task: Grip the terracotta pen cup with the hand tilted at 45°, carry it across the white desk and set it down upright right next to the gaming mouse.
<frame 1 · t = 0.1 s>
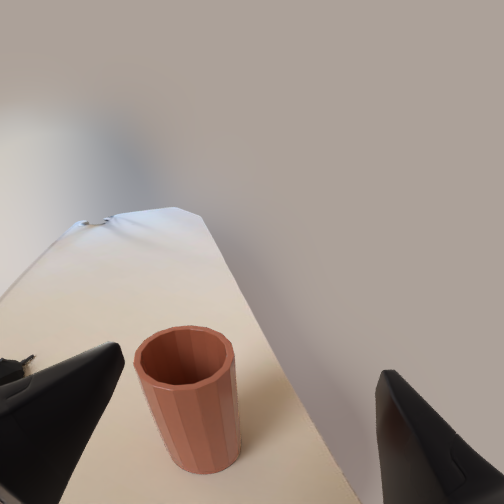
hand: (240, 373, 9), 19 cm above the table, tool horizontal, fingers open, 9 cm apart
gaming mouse: (3, 385, 26), on the table
pen cup: (204, 444, 24), on the table
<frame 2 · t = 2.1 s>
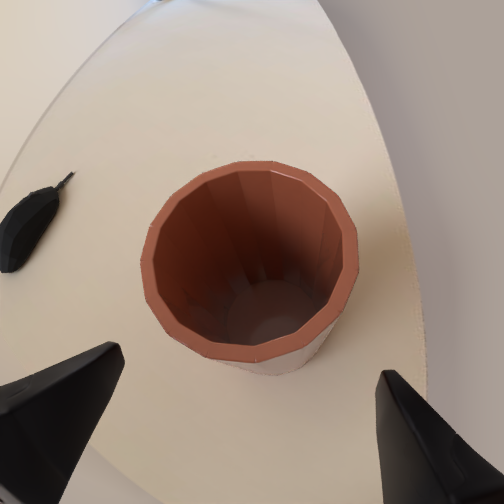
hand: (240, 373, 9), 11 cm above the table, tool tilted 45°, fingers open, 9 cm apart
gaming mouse: (37, 223, 28), on the table
pen cup: (272, 324, 20), on the table
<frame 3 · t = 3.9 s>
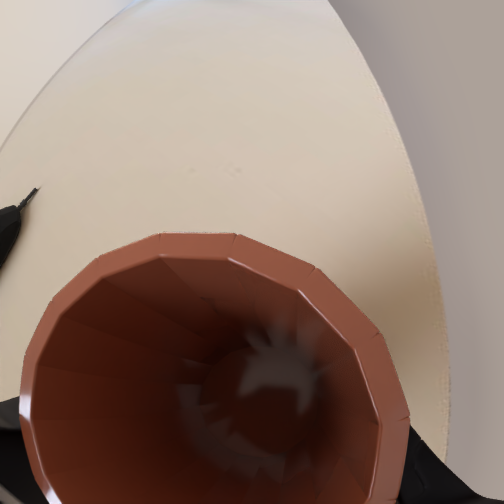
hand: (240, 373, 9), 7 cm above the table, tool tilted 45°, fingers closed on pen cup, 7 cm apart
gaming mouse: (0, 247, 23), on the table
pen cup: (259, 402, 14), on the table, touching gripper
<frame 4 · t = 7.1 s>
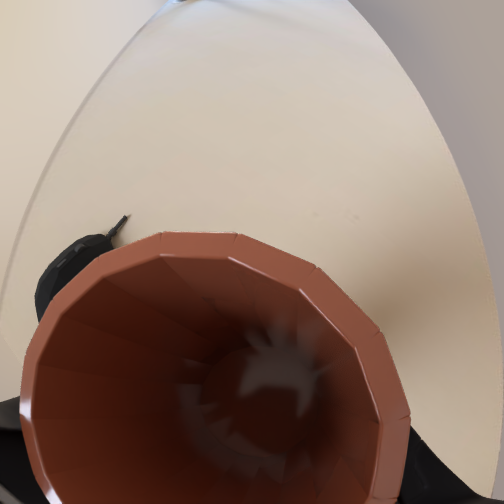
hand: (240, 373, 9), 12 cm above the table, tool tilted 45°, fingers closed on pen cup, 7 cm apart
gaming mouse: (86, 278, 26), on the table
pen cup: (259, 401, 14), point 6 cm above the table, touching gripper
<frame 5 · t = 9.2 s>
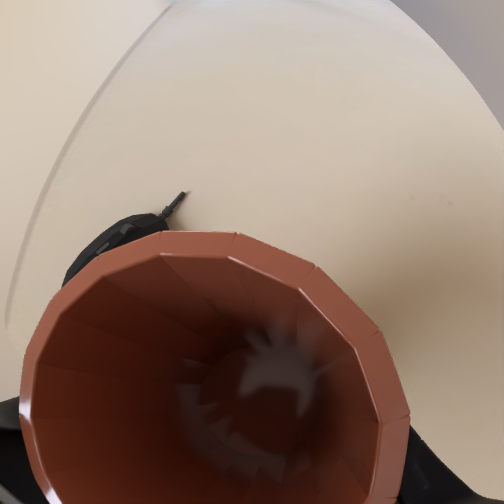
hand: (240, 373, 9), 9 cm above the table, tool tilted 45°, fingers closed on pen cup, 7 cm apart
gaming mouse: (131, 270, 22), on the table
pen cup: (259, 401, 14), point 2 cm above the table, touching gripper
when the fingers open (7 cm above the table, at t = 10.5 s): pen cup stays where it is, on the table.
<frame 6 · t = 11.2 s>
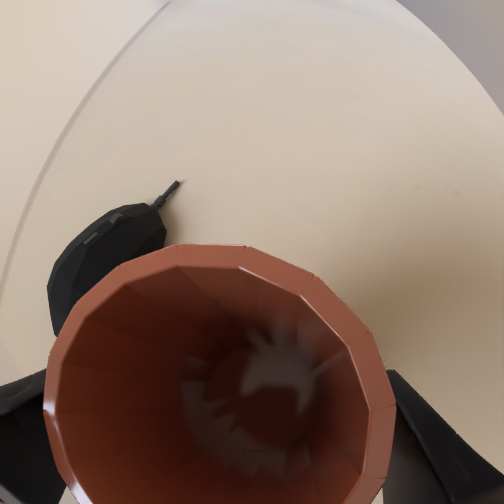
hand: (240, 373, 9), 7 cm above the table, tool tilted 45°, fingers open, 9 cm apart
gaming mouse: (121, 263, 20), on the table
pen cup: (261, 398, 15), on the table
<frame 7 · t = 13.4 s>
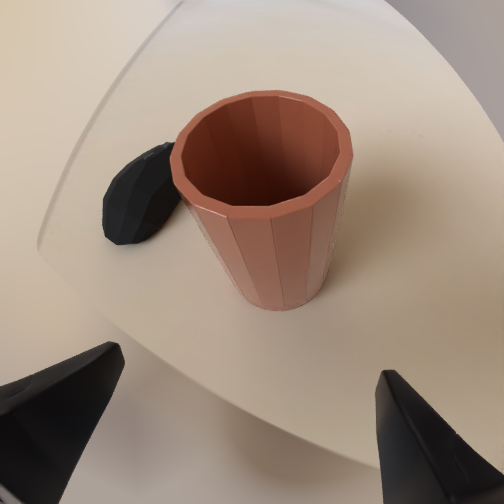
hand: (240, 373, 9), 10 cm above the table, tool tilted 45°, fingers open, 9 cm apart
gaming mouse: (165, 183, 27), on the table
pen cup: (278, 263, 21), on the table
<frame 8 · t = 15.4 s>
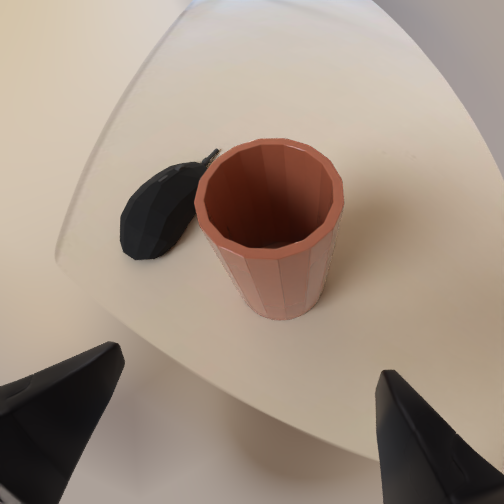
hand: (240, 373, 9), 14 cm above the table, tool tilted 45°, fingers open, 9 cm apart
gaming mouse: (177, 201, 30), on the table
pen cup: (281, 278, 24), on the table
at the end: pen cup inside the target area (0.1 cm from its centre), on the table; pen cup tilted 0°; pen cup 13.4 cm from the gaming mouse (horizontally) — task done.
